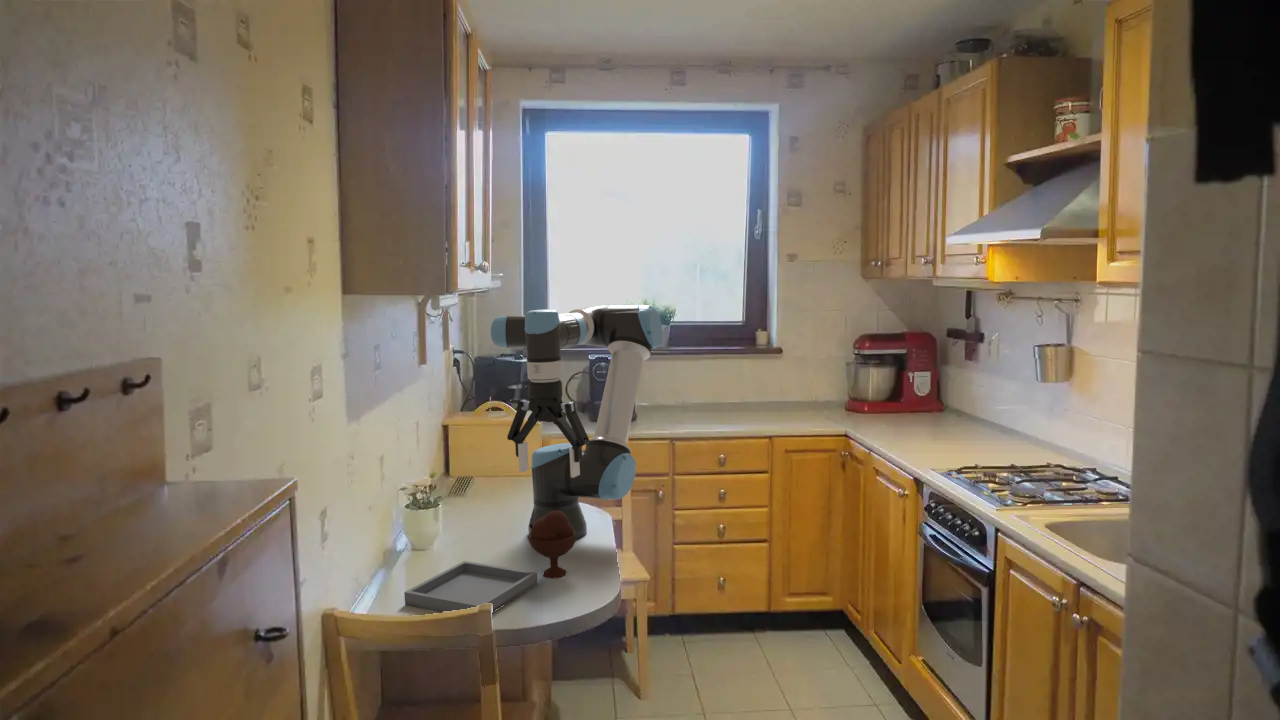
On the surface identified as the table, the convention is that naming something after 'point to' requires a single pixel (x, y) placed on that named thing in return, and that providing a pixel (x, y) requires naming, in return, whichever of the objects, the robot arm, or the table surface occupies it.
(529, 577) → the tray
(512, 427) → the robot arm
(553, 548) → the ice cream bowl
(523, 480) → the table surface
